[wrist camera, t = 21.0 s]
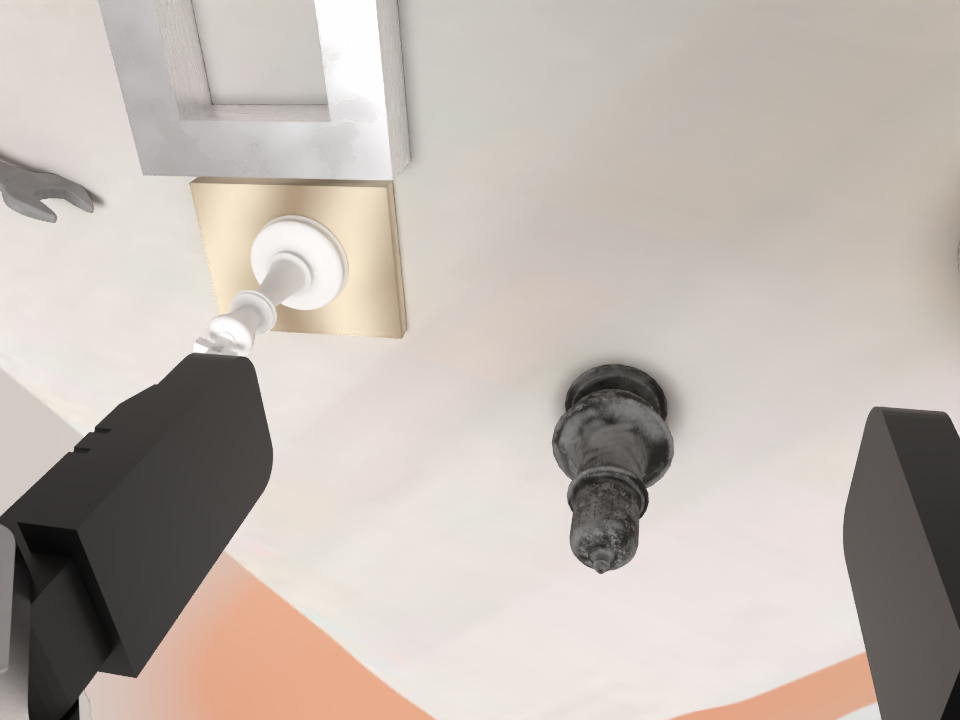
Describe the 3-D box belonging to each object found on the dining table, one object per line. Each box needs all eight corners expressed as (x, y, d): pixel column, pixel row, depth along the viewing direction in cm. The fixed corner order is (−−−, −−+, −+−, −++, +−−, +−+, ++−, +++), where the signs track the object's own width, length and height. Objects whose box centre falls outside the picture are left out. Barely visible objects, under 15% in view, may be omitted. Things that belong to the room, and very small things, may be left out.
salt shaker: (539, 383, 42) (501, 541, 32) (642, 342, 40) (635, 498, 30) (591, 466, 44) (570, 638, 34) (691, 431, 42) (700, 605, 32)
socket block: (385, -143, 31) (361, -145, 29) (410, 160, 38) (392, 180, 35) (109, -128, 34) (65, -128, 31) (176, 156, 40) (143, 175, 37)
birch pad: (392, 180, 38) (386, 187, 37) (406, 329, 42) (401, 338, 41) (199, 176, 40) (188, 182, 39) (230, 319, 44) (222, 327, 43)
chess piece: (265, 198, 39) (155, 286, 30) (359, 239, 39) (276, 338, 31) (246, 282, 41) (140, 385, 33) (334, 320, 42) (251, 432, 33)
